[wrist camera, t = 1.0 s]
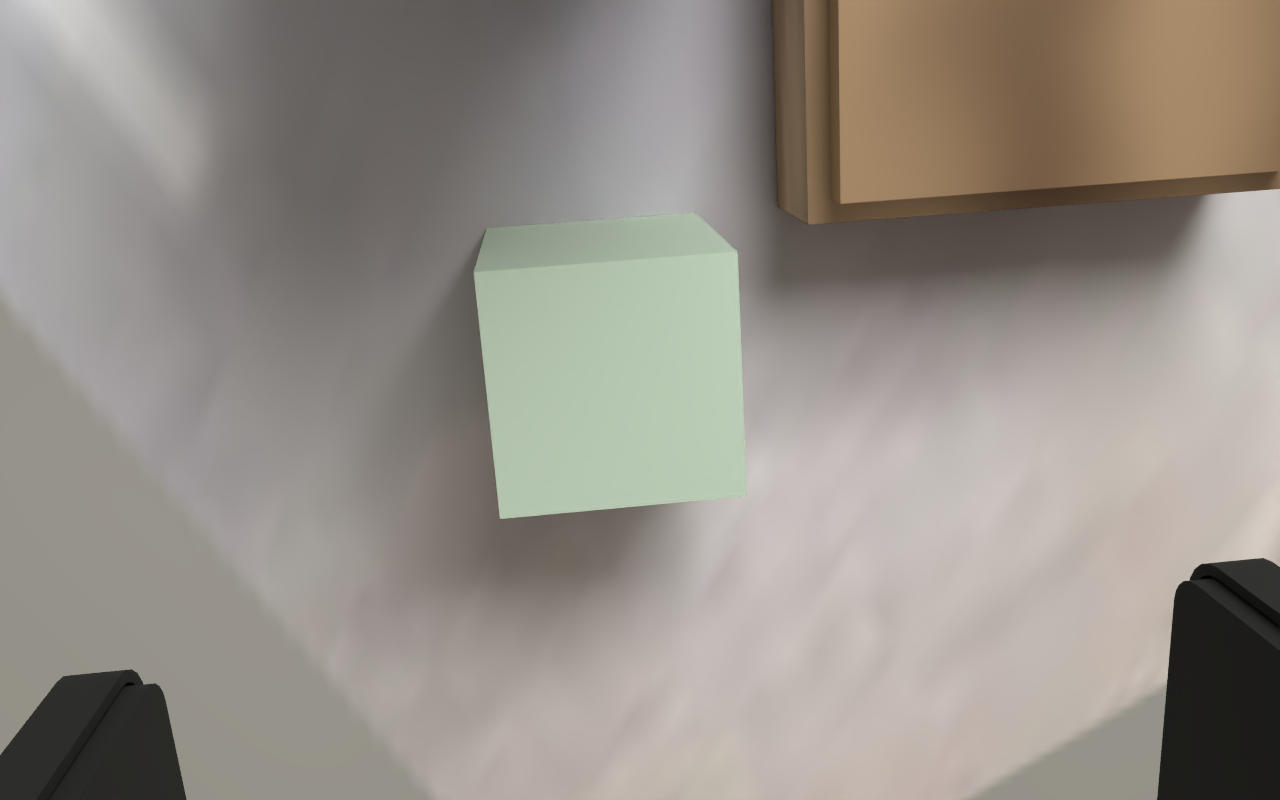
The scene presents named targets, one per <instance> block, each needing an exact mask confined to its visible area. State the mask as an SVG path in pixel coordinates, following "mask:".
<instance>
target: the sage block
mask: <svg viewBox="0 0 1280 800" xmlns="http://www.w3.org/2000/svg"><path fill="white" fill-rule="evenodd" d="M474 281H475V290H476V300H477V309H478V318H479V328H480V337H481V347H482V356H483V365H484V375H485V384H486V393H487V403H488V412H489V421H490V431H491V440H492V449H493V459H494V468H495V477H496V487H497V496H498V506H499V515H500V519H505V518H516V517H527V516H538V515H549V514H560V513H571V512H581V511H592V510H603V509H614V508H625V507H636V506H647V505H657V504H668V503H679V502H690V501H701V500H712V499H723V498H733V497H744V496H747V489H746V462H745V435H744V408H743V381H742V355H741V328H740V301H739V274H738V252H737V251H736V250H735V249H734V248H733V247H732V246H731V245H730V244H729V243H728V242H727V241H726V240H725V239H723V238H722V237H721V236H720V235H719V234H718V233H717V232H716V231H715V230H714V229H713V228H712V227H711V226H709V225H708V224H707V223H706V222H705V221H704V220H703V219H702V218H701V217H700V216H699V215H698V214H697V213H695V212H693V213H680V214H666V215H653V216H640V217H626V218H613V219H599V220H586V221H573V222H559V223H546V224H532V225H519V226H506V227H492V228H487V229H486V232H485V236H484V239H483V242H482V246H481V249H480V252H479V256H478V259H477V262H476V266H475V269H474Z"/></svg>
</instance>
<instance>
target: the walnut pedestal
mask: <svg viewBox="0 0 1280 800" xmlns="http://www.w3.org/2000/svg"><path fill="white" fill-rule="evenodd" d="M772 10H773V48H774V85H775V123H776V161H777V199H778V207H779V208H781V209H783V210H785V211H786V212H788V213H790V214H791V215H793V216H795V217H796V218H798V219H800V220H801V221H803V222H805V223H806V224H808V225H809V224H822V223H835V222H849V221H862V220H875V219H888V218H901V217H915V216H928V215H941V214H954V213H967V212H980V211H994V210H1007V209H1020V208H1033V207H1046V206H1059V205H1073V204H1086V203H1099V202H1112V201H1125V200H1139V199H1152V198H1165V197H1178V196H1191V195H1204V194H1218V193H1231V192H1244V191H1257V190H1270V189H1280V0H772Z"/></svg>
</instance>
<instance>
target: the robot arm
mask: <svg viewBox="0 0 1280 800" xmlns="http://www.w3.org/2000/svg"><path fill="white" fill-rule="evenodd" d="M0 800H186V795H185V791H184V786H183V781H182V777H181V772H180V767H179V762H178V758H177V753H176V748H175V743H174V739H173V734H172V729H171V724H170V720H169V715H168V711H167V706H166V701H165V698H164V694H163V692H162V690H161V688H160V686H158V685H157V684H146V685H143V682H142V680H141V678H140V677H139V675H138V673H136V672H135V671H133V670H121V671H111V672H101V673H91V674H81V675H71V676H64V677H62V678H61V679H60V680H59V681H58V682H57V683H56V684H55V685H54V687H53V688H52V689H51V691H50V692H49V693H48V694H47V696H46V697H45V698H44V699H43V701H42V702H41V703H40V705H39V706H38V707H37V709H36V710H35V711H34V712H33V714H32V715H31V716H30V718H29V719H28V720H27V721H26V723H25V724H24V725H23V727H22V728H21V729H20V730H19V732H18V733H17V734H16V736H15V737H14V738H13V739H12V741H11V742H10V744H9V745H8V746H7V747H6V749H5V750H4V751H3V752H2V754H1V755H0ZM1157 800H1280V567H1279V566H1277V565H1276V564H1274V563H1273V562H1271V561H1269V560H1266V559H1264V558H1260V559H1249V560H1239V561H1228V562H1218V563H1208V564H1201V565H1200V566H1198V567H1197V568H1196V569H1195V570H1194V572H1193V574H1192V575H1191V577H1190V581H1184V582H1182V583H1181V584H1180V585H1179V586H1178V588H1177V590H1176V593H1175V598H1174V609H1173V620H1172V632H1171V644H1170V656H1169V668H1168V679H1167V691H1166V704H1165V716H1164V727H1163V739H1162V751H1161V762H1160V774H1159V786H1158V797H1157Z"/></svg>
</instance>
